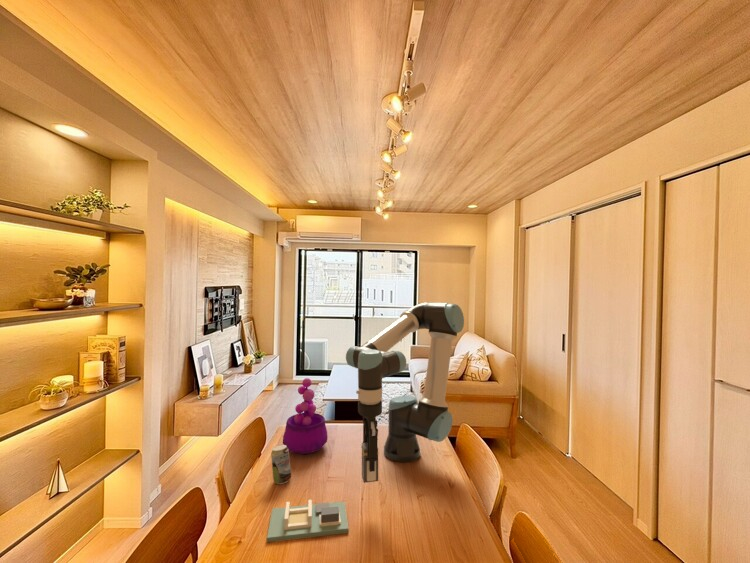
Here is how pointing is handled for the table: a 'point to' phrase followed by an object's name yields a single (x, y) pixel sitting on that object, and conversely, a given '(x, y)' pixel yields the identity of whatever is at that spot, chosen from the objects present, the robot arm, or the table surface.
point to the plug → (364, 463)
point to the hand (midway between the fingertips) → (369, 475)
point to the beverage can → (281, 464)
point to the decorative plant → (305, 425)
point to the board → (307, 521)
